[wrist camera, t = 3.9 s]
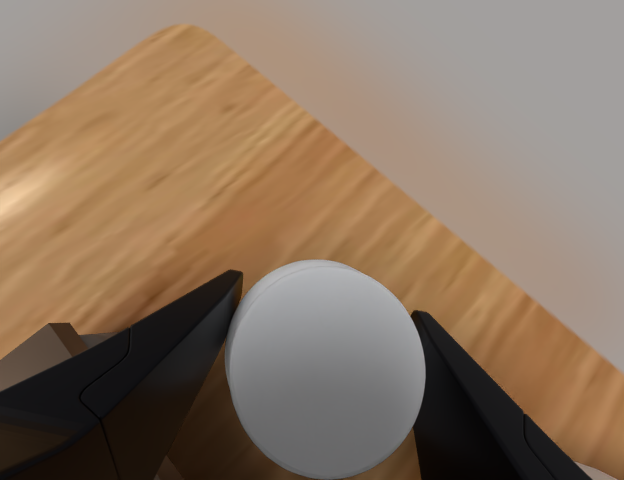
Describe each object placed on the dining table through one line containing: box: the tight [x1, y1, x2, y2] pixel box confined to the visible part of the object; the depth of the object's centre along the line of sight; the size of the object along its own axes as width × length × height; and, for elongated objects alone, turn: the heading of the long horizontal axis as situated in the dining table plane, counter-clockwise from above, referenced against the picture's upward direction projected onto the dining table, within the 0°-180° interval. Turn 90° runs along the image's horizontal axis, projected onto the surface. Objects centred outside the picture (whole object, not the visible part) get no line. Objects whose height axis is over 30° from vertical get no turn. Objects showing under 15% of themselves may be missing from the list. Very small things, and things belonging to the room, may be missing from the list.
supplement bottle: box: [225, 260, 426, 480], centre depth 10 cm, size 5×5×10 cm
